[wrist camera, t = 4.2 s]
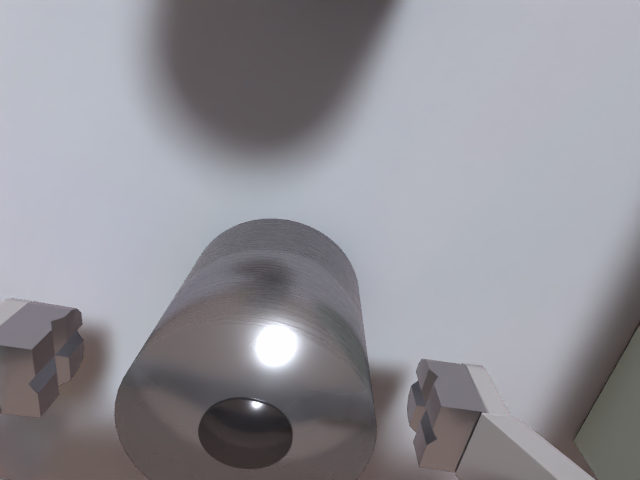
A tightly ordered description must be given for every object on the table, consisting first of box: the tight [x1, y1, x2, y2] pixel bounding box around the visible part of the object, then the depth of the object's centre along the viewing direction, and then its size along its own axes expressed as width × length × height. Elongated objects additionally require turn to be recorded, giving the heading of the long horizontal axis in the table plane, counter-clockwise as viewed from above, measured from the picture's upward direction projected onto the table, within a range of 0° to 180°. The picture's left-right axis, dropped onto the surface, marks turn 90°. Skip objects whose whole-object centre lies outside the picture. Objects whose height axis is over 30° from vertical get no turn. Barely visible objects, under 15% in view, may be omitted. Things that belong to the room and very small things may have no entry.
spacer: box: [115, 219, 377, 480], centre depth 10 cm, size 5×5×5 cm
